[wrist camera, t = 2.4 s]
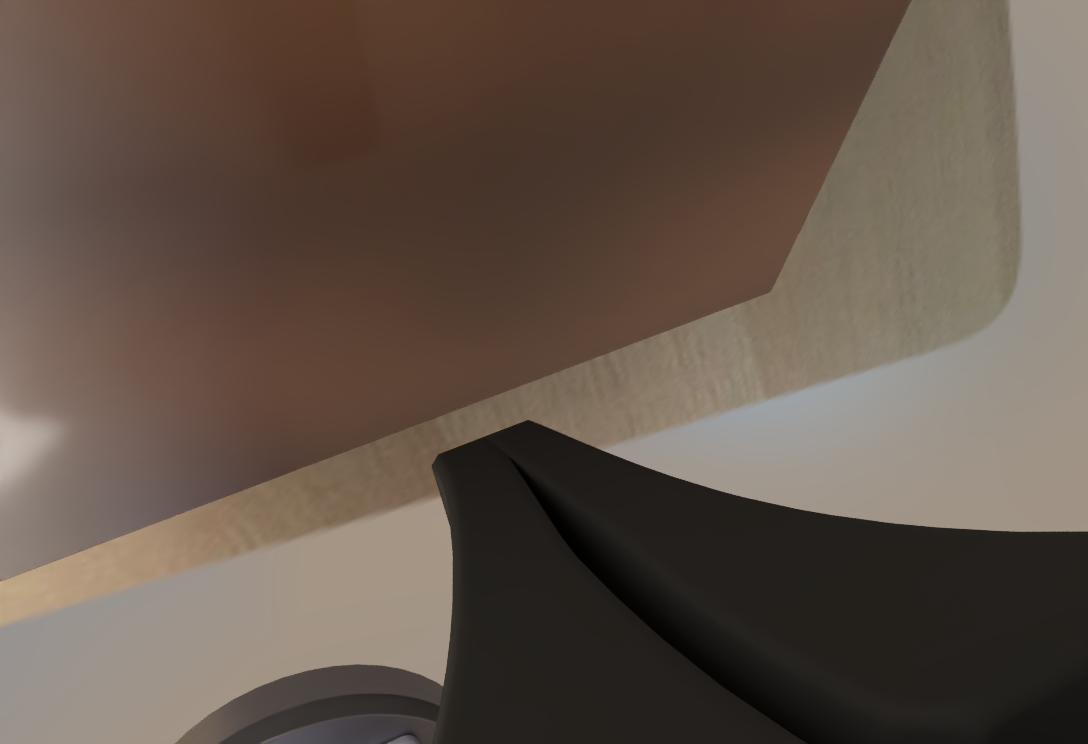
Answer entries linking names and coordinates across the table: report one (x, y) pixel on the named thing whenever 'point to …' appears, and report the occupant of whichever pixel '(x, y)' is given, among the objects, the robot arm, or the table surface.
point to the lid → (370, 218)
